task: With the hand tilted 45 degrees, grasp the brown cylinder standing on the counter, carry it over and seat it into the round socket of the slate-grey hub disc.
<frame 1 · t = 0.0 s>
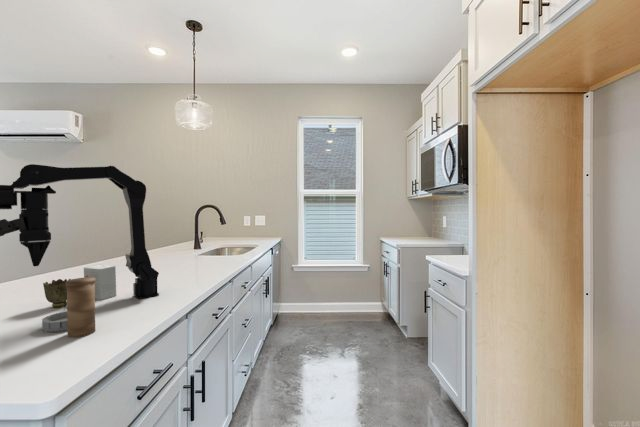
hand: (35, 263, 89), 15 cm above the table, tool pointing down, fingers open, 9 cm apart
brown cylinder: (81, 333, 76), on the table
small box: (100, 297, 107), on the table
hub: (65, 325, 81), on the table
ornate scalloped vase: (59, 307, 97), on the table
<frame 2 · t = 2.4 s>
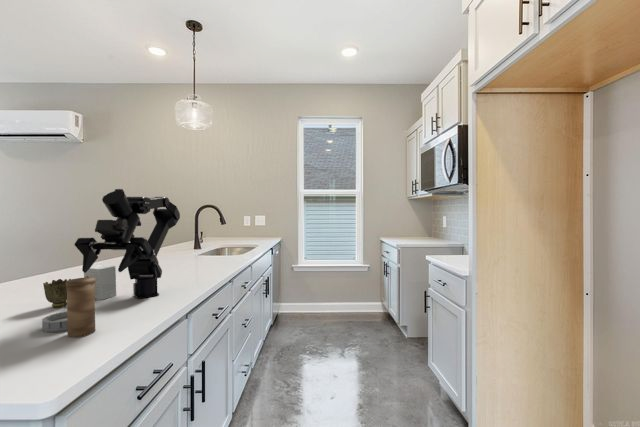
hand: (101, 271, 84), 13 cm above the table, tool tilted 45°, fingers open, 9 cm apart
nothing on the table moved.
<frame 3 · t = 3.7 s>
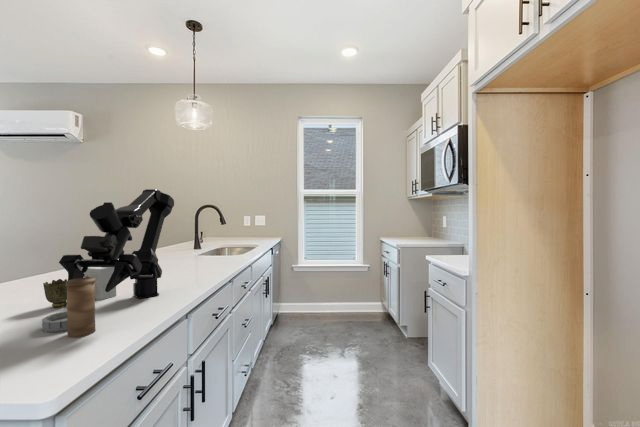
hand: (87, 291, 78), 10 cm above the table, tool tilted 45°, fingers open, 9 cm apart
nothing on the table moved.
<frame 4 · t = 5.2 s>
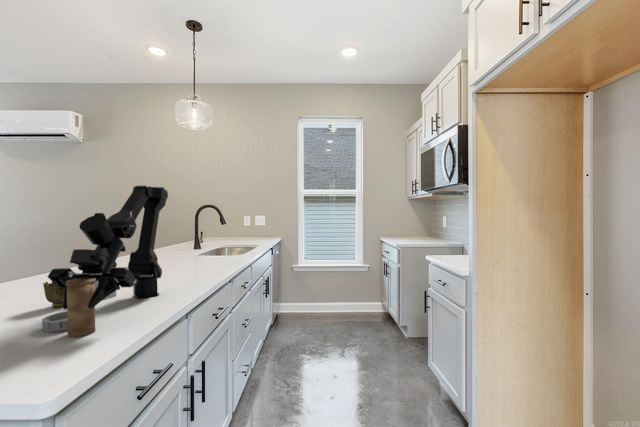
hand: (77, 308, 75), 7 cm above the table, tool tilted 45°, fingers closed on brown cylinder, 5 cm apart
brown cylinder: (81, 333, 76), on the table, touching gripper
everything else where it was.
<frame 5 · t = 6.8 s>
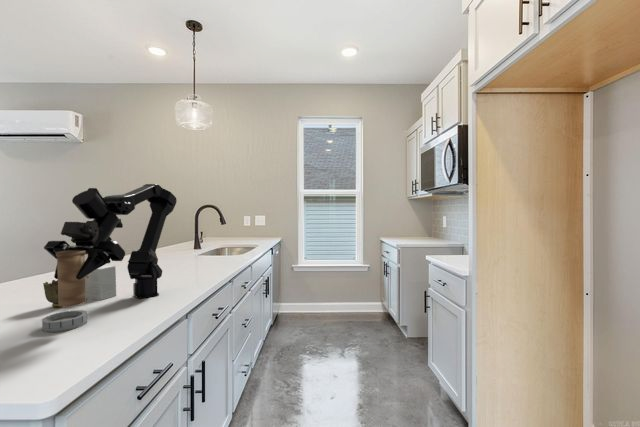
hand: (66, 278, 77), 13 cm above the table, tool tilted 45°, fingers closed on brown cylinder, 5 cm apart
brown cylinder: (72, 303, 78), point 7 cm above the table, touching gripper
everything else where it was.
when the fingers open (9 cm above the table, at t = 8.6 s): brown cylinder drops 1 cm, resting on hub.
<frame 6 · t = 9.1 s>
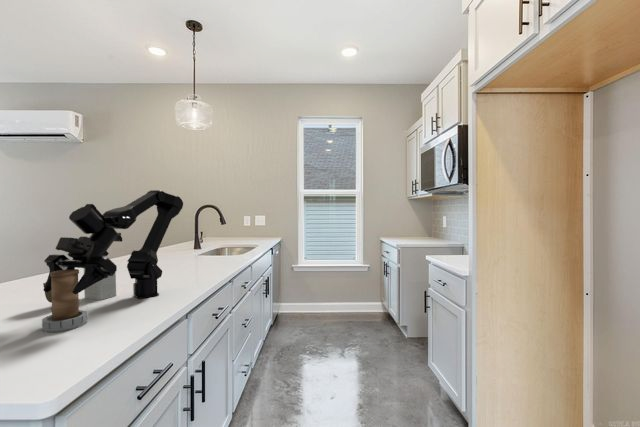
hand: (59, 292, 80), 9 cm above the table, tool tilted 45°, fingers open, 9 cm apart
brown cylinder: (65, 321, 81), point 1 cm above the table, touching hub
everything else where it was.
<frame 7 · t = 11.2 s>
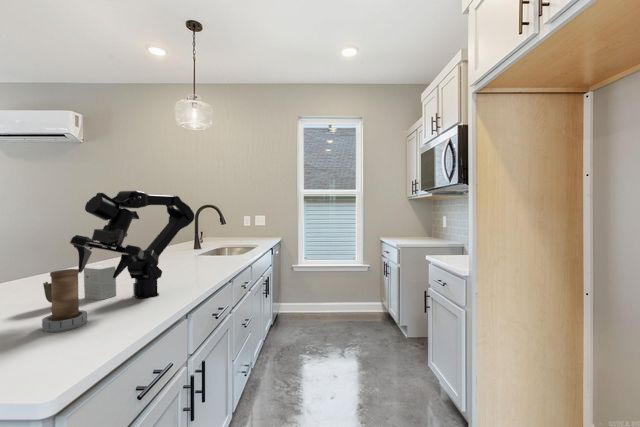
hand: (96, 275, 92), 11 cm above the table, tool tilted 25°, fingers open, 9 cm apart
nothing on the table moved.
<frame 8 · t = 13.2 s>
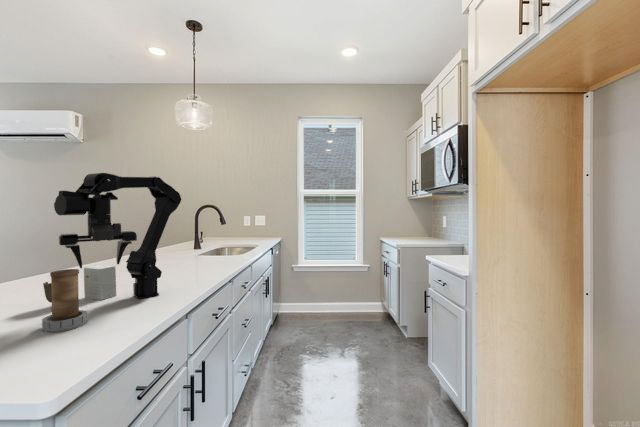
hand: (100, 266, 94), 13 cm above the table, tool pointing down, fingers open, 9 cm apart
nothing on the table moved.
at the end: brown cylinder 0.1 cm from the hub (horizontally); brown cylinder point 1.1 cm above the table; brown cylinder tilted 0° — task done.
